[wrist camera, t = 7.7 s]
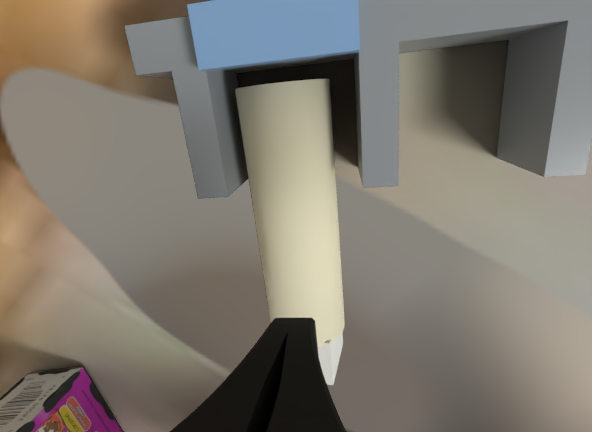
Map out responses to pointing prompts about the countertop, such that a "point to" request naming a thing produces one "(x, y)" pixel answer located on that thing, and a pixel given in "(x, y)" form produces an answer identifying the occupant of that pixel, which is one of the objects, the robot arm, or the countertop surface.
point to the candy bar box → (56, 404)
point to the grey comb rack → (374, 72)
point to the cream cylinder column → (296, 205)
